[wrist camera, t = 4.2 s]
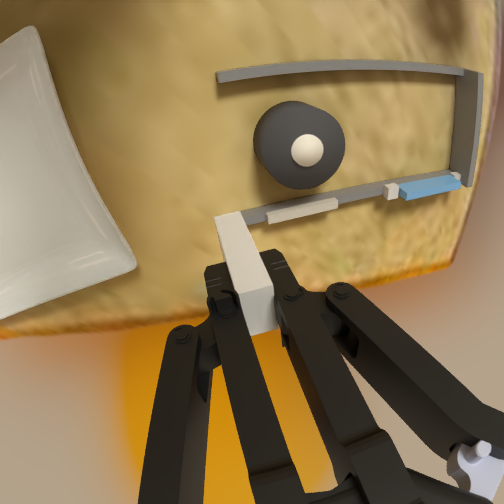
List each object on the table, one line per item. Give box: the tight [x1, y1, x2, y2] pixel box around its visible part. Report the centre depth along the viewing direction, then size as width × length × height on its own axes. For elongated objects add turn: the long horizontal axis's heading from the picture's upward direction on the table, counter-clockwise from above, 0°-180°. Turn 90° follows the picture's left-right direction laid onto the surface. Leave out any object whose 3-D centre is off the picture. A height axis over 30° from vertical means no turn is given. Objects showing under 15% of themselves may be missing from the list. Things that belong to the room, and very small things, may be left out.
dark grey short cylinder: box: [253, 101, 345, 190], centre depth 29 cm, size 8×8×4 cm
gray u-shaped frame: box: [216, 59, 484, 226], centre depth 30 cm, size 32×16×4 cm, turn 98°
